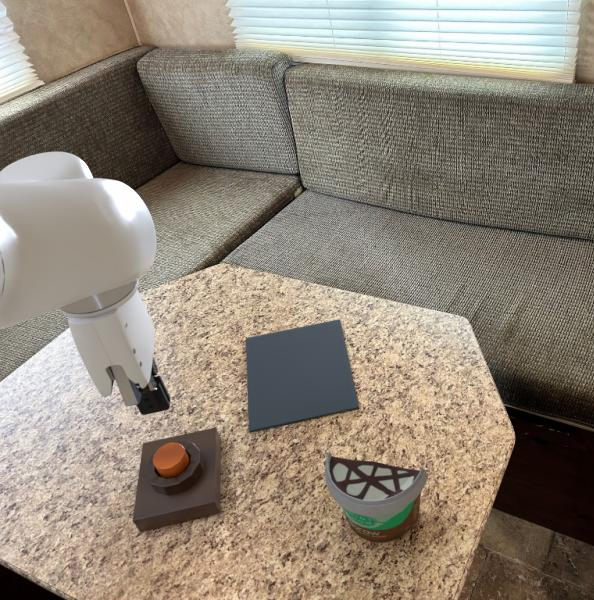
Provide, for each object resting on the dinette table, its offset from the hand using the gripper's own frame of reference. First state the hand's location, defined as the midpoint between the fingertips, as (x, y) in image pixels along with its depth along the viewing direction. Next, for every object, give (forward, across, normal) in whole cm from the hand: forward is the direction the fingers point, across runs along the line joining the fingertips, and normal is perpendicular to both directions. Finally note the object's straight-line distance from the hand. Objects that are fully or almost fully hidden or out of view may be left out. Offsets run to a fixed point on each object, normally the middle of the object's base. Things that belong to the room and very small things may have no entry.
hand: (156, 407), depth 70 cm
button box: (+16, -2, -2) cm, 17 cm away
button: (+12, -1, -2) cm, 13 cm away
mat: (+16, -17, +15) cm, 28 cm away
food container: (+17, +12, +22) cm, 30 cm away
